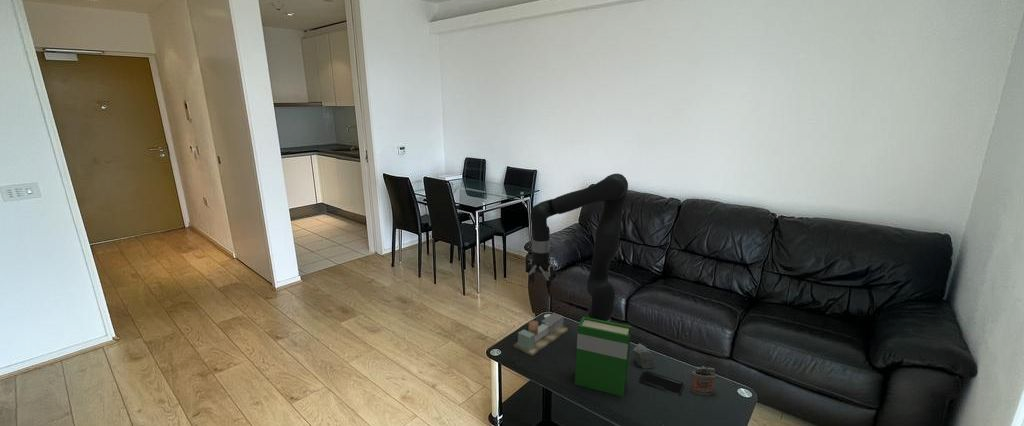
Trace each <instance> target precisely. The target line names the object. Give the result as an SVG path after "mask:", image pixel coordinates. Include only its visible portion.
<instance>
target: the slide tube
mask: <svg viewBox="0 0 1024 426" xmlns="http://www.w3.org/2000/svg"><path fill="white" fill-rule="evenodd" d="M528 331H529V332H531V333H533V334H535V342H537V341H538V340H540V339H541V338H542V337H544V336H545V335H547V334H548V333H550V326H549V325H547V324H545V323H543V324H542V325H541V324H540V325H539V322H538V321H537V320H529V321H528Z"/></svg>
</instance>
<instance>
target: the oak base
mask: <svg viewBox="0 0 1024 426" xmlns="http://www.w3.org/2000/svg"><path fill="white" fill-rule="evenodd" d="M568 331H569V328H568V327H566V326H563V328H562V329H560V330H559V331H557V332H556V333H554V334H553V335H551V336H550V335H548V334H547V335H545V336H544V337H542V338H541V339H540V340H538V341H537V342H535V347H534V348H533V349H532V350H531V351H527V350H525V349H523V348H521V347H519V346H518V341H517V342H516V343H514V344H513V348H515V349H517V350H519V351H521V352H523V353H525V354H527V355H529V356H532V357H533V356H535V355H536V354H537V353H539V352H540V351H542V350H543V349H544V348H545V347H547V346H548V345H550V344H551V343H553V342H554V341H555V340H557V339H558V338H560V337H561V336H563V335H564V334H566V333H567V332H568Z"/></svg>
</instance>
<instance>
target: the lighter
mask: <svg viewBox="0 0 1024 426" xmlns="http://www.w3.org/2000/svg"><path fill="white" fill-rule="evenodd" d="M715 371H716V369H715V368H714V367H705V365H702V366H701V367H700V366H696V367H695V370H692V371H691V375H692V376H691V383H690V387H689V392H691V393H692V394H696V395H703V396H713V395H714V393H715V392H714V390H715V383H716V378H717V375H716V372H715Z"/></svg>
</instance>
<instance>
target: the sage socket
mask: <svg viewBox="0 0 1024 426" xmlns="http://www.w3.org/2000/svg"><path fill="white" fill-rule="evenodd" d="M517 342H518V346H519V347H521V348H523V349H525V350H527V351H531V350H532V349H533V348H534V347H535V334H533V333H531V332H529V330H526V329H522V330H520V331H519V332H517Z"/></svg>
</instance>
